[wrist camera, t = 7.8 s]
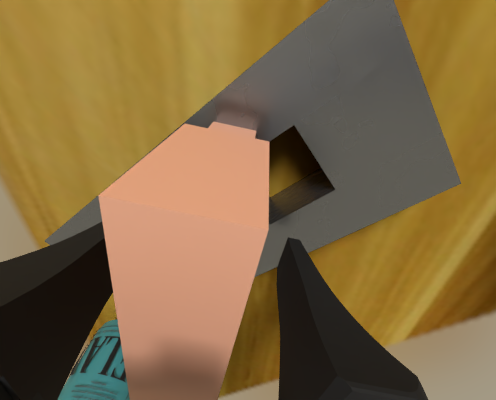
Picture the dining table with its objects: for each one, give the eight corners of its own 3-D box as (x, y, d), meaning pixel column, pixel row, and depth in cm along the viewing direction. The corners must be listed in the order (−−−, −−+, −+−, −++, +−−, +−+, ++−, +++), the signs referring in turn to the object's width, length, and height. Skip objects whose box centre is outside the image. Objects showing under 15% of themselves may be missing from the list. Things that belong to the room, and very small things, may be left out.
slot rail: (426, 159, 14) (460, 183, 12) (170, 290, 22) (156, 321, 20) (352, -19, 11) (378, -41, 8) (75, 214, 19) (44, 241, 16)
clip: (269, 122, 11) (268, 230, 4) (231, 283, 17) (206, 436, 10) (203, 107, 11) (98, 195, 4) (188, 274, 17) (133, 423, 10)
